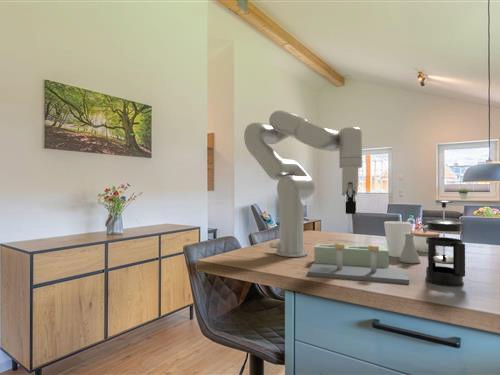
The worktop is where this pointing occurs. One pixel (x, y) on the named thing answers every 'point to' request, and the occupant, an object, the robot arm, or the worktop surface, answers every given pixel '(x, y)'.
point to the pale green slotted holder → (350, 255)
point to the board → (358, 269)
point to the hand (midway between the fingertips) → (351, 212)
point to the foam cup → (396, 236)
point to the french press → (440, 273)
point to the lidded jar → (423, 239)
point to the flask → (409, 251)
